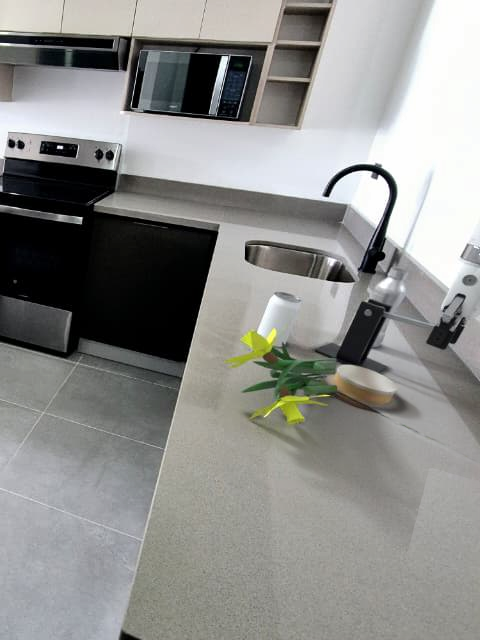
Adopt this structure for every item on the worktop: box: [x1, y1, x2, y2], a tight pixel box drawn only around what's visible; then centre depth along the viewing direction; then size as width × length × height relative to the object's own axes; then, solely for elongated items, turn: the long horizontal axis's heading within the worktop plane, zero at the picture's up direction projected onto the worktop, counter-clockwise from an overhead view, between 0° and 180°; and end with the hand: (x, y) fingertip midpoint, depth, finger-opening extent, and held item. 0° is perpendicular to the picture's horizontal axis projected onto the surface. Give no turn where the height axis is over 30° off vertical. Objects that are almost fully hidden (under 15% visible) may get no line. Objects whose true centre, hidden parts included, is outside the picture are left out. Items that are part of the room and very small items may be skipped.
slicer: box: [314, 298, 392, 374], centre depth 112 cm, size 12×9×15 cm
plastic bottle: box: [370, 266, 410, 349], centre depth 122 cm, size 6×7×20 cm
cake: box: [330, 364, 398, 414], centre depth 101 cm, size 14×14×4 cm
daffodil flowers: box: [222, 318, 338, 426], centre depth 89 cm, size 17×15×35 cm
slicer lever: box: [377, 305, 457, 332], centre depth 105 cm, size 15×6×2 cm, turn 35°
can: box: [256, 291, 302, 348], centre depth 117 cm, size 6×6×12 cm
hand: (440, 343), depth 101 cm, fingers closed on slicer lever, 5 cm apart
